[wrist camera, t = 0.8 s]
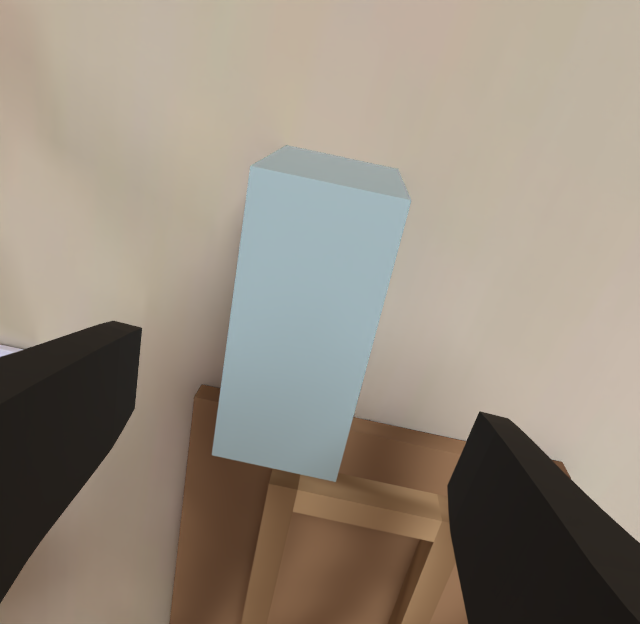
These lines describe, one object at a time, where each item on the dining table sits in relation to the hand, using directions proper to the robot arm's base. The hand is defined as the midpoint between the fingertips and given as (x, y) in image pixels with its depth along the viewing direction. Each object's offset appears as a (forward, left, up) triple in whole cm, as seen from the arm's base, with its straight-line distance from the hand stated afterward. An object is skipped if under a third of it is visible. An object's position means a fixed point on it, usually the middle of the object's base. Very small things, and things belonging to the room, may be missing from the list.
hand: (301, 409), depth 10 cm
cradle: (+4, -15, -10) cm, 18 cm away
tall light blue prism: (0, 0, -10) cm, 10 cm away
